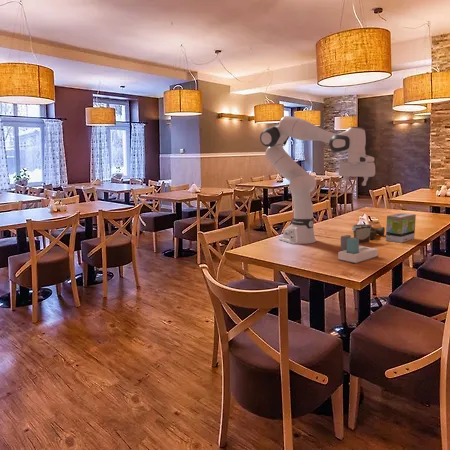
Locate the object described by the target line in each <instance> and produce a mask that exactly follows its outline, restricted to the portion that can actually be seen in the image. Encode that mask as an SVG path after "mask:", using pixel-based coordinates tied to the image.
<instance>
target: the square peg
mask: <svg viewBox="0 0 450 450" xmlns="http://www.w3.org/2000/svg"><path fill="white" fill-rule="evenodd" d="M359 246H360V244H359V239H357V238H354V237H351V238H349V239H347V253H351V254H356V253H359Z"/></svg>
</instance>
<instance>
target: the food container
mask: <svg viewBox="0 0 450 450" xmlns="http://www.w3.org/2000/svg"><path fill="white" fill-rule="evenodd" d="M371 227H372V225H371V224H367V223H364V224H362V223H358V224H353V226H352V229H351V230H352V232H353V238H357V239H359V245H362V244H369V243H370V230H371Z"/></svg>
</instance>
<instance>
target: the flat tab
mask: <svg viewBox="0 0 450 450" xmlns="http://www.w3.org/2000/svg"><path fill="white" fill-rule="evenodd" d="M349 238H352V237H351V235H350V234H346V235H345V234H344V235H341V236H340V251H344V250H347V239H349Z"/></svg>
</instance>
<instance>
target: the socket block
mask: <svg viewBox="0 0 450 450" xmlns="http://www.w3.org/2000/svg"><path fill="white" fill-rule="evenodd" d="M337 255H338V256H337V257H338V258H337V259H338V261H341V262H347V263H350V264H355V265H356V264H360V263H363V262H366V261H369V260H372V259H374V258H378V256H379V249H378V248H374V247H369V246H364V245H359V253H356V254H351V253H347V250H344V251H341V250H340V251H338V254H337Z"/></svg>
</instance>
